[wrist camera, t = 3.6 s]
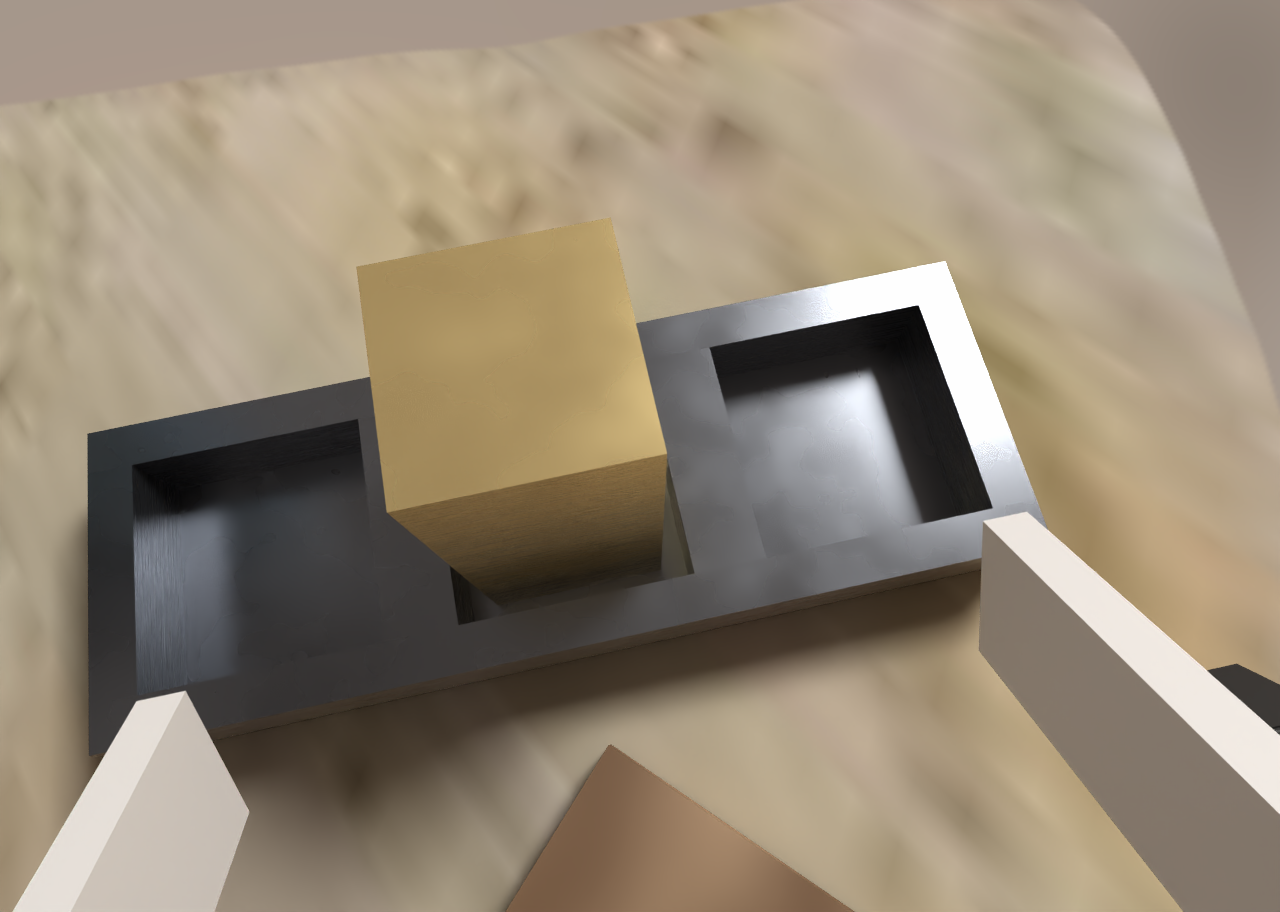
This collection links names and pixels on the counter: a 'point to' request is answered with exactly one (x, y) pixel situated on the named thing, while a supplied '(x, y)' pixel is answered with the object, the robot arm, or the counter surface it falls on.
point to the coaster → (656, 855)
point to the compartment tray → (569, 620)
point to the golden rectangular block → (517, 410)
